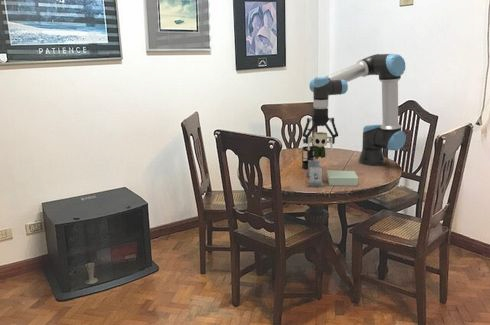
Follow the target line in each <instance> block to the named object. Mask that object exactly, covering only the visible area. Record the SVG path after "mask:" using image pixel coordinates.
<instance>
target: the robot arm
mask: <svg viewBox="0 0 490 325" xmlns="http://www.w3.org/2000/svg"><path fill="white" fill-rule="evenodd" d="M405 71H406V61H405V58H403V56H401V54H397V53H381V54H380V53H376V54H373V55H370V56H367V57H364V58H362V59H359V60H358V61H357V62H356V63H355V64H353V65H350V66H347V67H345V68H343V69H340V70H339V71H338V70H337V71H336V72H333V73H330V74H328V75H326V76H317V77H314V78H313V79H311V80H310V82H309V85H308V86H309V90H310V91H311V92H312V93H313V96H312V97H313V98H312V99H313V100H312V101H313V104H312V106H313V109H312V117H307V118H306V124H305V126H304V128H303V132H302V135H301V136H302V137H304V139H305V138H306V143H305V144H306V145H307V146H308V148H307V149H308V150H310V146H311V144H310V134H312V133H313V131H314V130H315V129H316V127H325V128H326V129H327V131H328V133H329V134H330V135H331V136H330V137H331V142H330V143H329V144H330V146H329V147H330V148H329V149H330V151H333V145H335V142H336V140H335V138H336V137H339V132H338V130H337V128H336V124H335V117H329V108H328V107H329V96H337V95H345V94H346V93H347V92H348V88H349V85H348V83H349V82H351V81H353V80H356V79H358V78H360V77H361V78H362V77H363V78H365V77H367V76H378V81H380V82H381V101H382V102H381V104H382V105H381V108H382V110H381V113H382V124H370V125H368V124H367V125H364V127H363V130H362V146H361V147H362V148H361V151H360V155H359V157H358V163H359V164H362V165H365V166H366V165H367V166H382V165H384V164H385V157H384V156H385V155H384V153H383V149H386V150H388V151H399V150H401V148H403V146H404V145H405V143H406V139H407V136H406V133H405V132H404V131H403V130H402V126H401V124H399V81H400V80H401V78H402V77H401V76H402V75H403V74H404V73H405ZM311 122H313V124H312V126H311V128H309V125H310V123H311ZM328 122H329V123H331V125H332V128H333V131H334V133H333V131H332V130H331V128H330V127H329V125H328ZM307 129H310V130H307ZM307 131H308V132H307Z"/></svg>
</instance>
